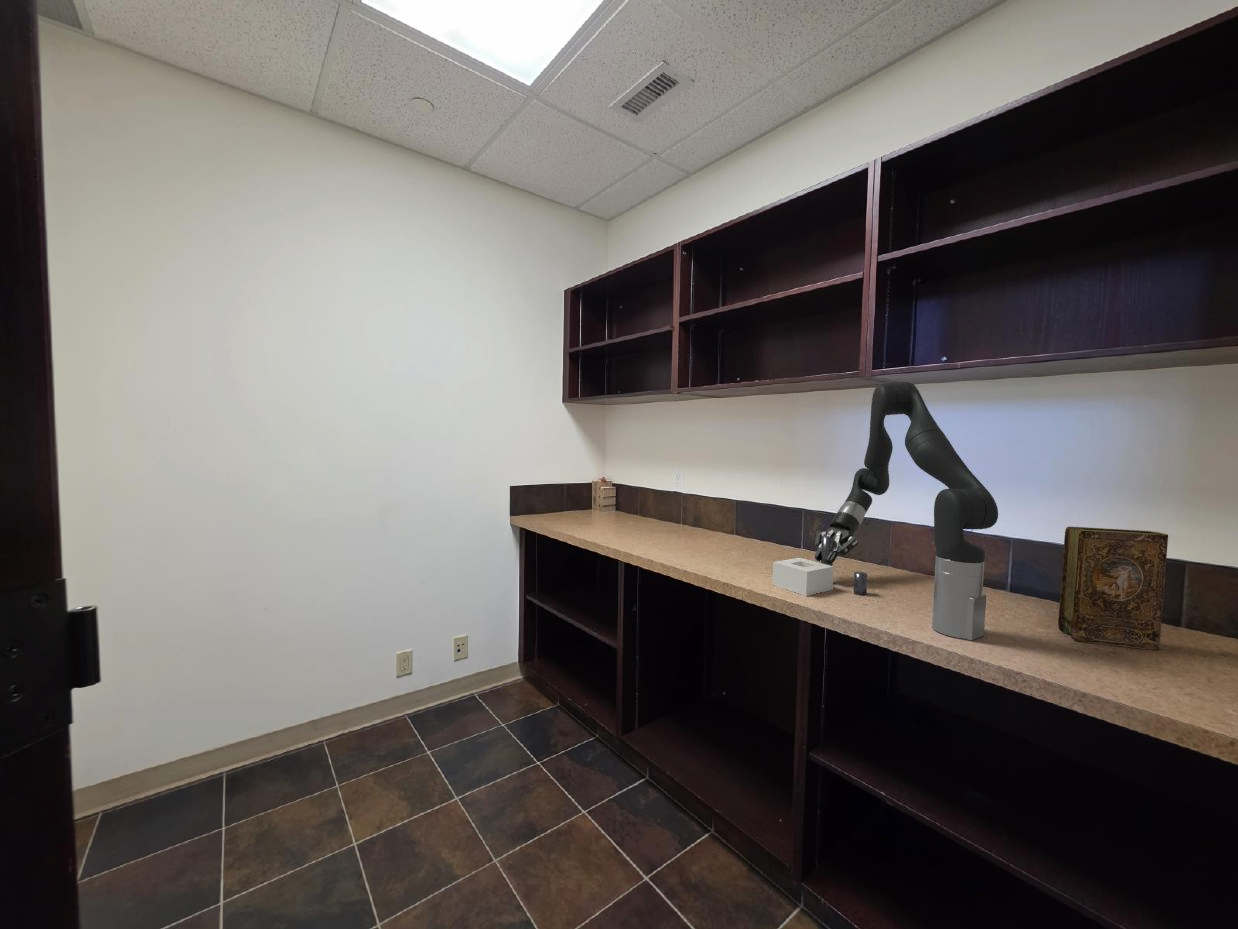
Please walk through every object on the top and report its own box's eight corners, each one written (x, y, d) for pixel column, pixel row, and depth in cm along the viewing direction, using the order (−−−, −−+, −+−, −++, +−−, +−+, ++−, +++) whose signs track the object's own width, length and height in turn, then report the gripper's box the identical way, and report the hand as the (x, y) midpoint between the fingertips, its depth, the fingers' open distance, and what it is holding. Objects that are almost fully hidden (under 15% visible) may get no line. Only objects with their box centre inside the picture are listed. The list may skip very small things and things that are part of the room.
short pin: (869, 594, 141) (870, 573, 141) (862, 596, 140) (863, 575, 139) (857, 591, 144) (858, 571, 144) (850, 593, 143) (851, 572, 142)
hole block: (832, 590, 145) (833, 566, 145) (806, 596, 139) (807, 571, 138) (798, 579, 155) (799, 557, 155) (772, 585, 149) (773, 562, 148)
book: (1146, 641, 111) (1154, 531, 110) (1164, 651, 106) (1174, 535, 104) (1057, 631, 116) (1064, 526, 114) (1071, 641, 110) (1078, 530, 109)
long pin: (834, 579, 152) (836, 537, 151) (827, 581, 150) (829, 538, 150) (824, 576, 155) (826, 535, 154) (817, 578, 153) (819, 536, 152)
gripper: (823, 508, 161) (797, 549, 156) (864, 514, 149) (838, 558, 144) (833, 523, 164) (808, 563, 159) (874, 530, 152) (848, 574, 147)
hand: (822, 561), depth 151 cm, fingers closed on long pin, 3 cm apart
